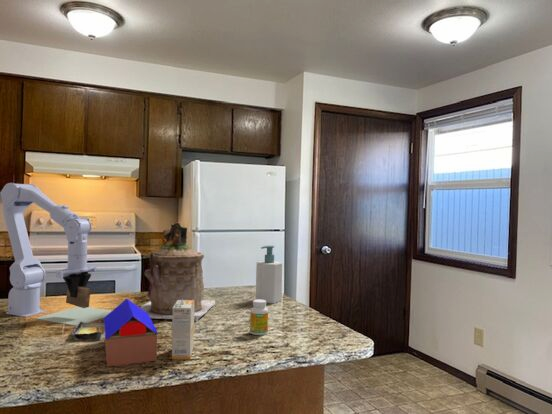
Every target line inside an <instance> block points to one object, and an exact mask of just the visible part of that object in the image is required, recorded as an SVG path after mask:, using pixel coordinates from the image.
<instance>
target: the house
mask: <svg viewBox="0 0 552 414" xmlns="http://www.w3.org/2000/svg"><path fill="white" fill-rule="evenodd" d="M111 311H112V312H110V313H109V314H108V315H107V316H106V317H104V318H103V323H104V325H105V328H104V329H105V336H104V347H105V348H104V349H105V358H106V366H107V367H115V366H122V365H133V364H139V363H141V364H142V363H147V362H157V355H158V353H157V352H158V336H159V333H158V331H157V328H156V327H155V324H154V323H153V321H152V318H150V316H149V314H147V313H146V312H145V311H143V310H142V309H140V306H138V305H136V304H135V303H133V301H131V300H130V299H129V298H126V299H124V300H123V301H122V302H121V303H120V304H119V305H118V306H116V307H115V308H114V309H113V310H111Z"/></svg>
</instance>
